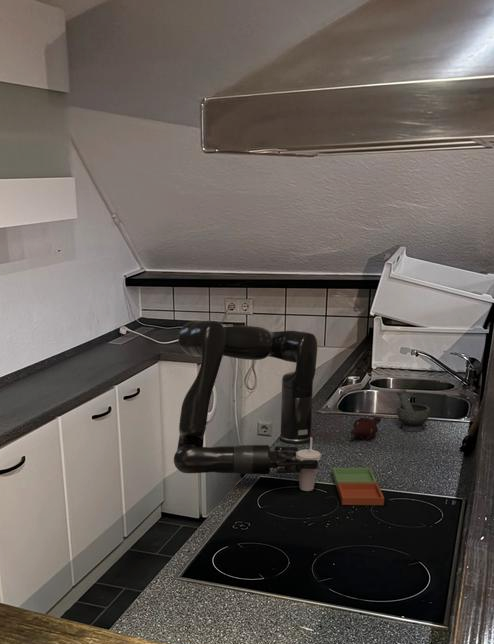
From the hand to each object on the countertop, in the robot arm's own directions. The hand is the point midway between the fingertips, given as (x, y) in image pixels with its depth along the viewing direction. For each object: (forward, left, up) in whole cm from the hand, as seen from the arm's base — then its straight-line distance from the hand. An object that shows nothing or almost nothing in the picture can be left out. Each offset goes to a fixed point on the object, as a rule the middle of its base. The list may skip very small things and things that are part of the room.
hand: (316, 459), depth 196 cm
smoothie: (0, -2, -8) cm, 9 cm away
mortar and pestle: (-52, +35, -8) cm, 63 cm away
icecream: (-41, +19, -8) cm, 46 cm away
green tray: (-5, +11, -8) cm, 14 cm away
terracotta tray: (+6, +11, -8) cm, 15 cm away
